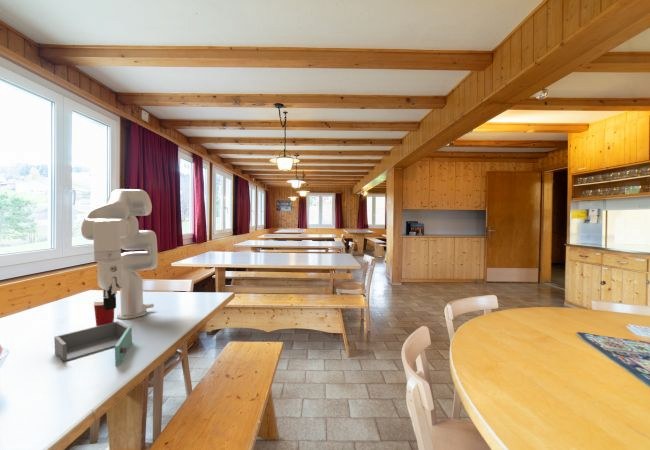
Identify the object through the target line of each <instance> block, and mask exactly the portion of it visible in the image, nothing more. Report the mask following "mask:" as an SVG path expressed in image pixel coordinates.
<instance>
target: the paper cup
mask: <svg viewBox="0 0 650 450" xmlns="http://www.w3.org/2000/svg"><path fill="white" fill-rule="evenodd" d="M103 298H104V297H103ZM103 298H98V299H96V300H94V302H93V304H92V305H93V310H94V316H95V317H94V318H95V324H96V325H95V327H96V326H100V325H104V324H108V323H113V322H115V309H110V310H105V309H104V302H103Z"/></svg>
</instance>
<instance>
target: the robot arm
mask: <svg viewBox="0 0 650 450" xmlns="http://www.w3.org/2000/svg"><path fill="white" fill-rule="evenodd" d="M107 198H108V199H107V202H106V204H104V205H101V206H99V207H96V208H94V209H91V210H90V211H88V212H87V213H86V215H85V217H84V219H83V221H82V224H81V230H80V231H81V232H80V233H81V235H82V237H83V238H84V239H86V240H87V241H93V255H94V256H93V259H94V260H93V261H94V262H96V263H97V265H96V266H97V267H96V269H97V270H96V273H97V275H96V276H97V277H96V280H97V286H98V287H99V288H100V289H102V297H103V302H104V309H105V310H110V309H114V310H115V309H116V308H117V293H118V290H117V288H118V289H119V294H120V295H119V296H120V298H119V299H120V313H119V312H118V314H117V317H116V318H118V319H119V320H128V319H129V320H130V319H135V318H139V317H142V316H145V315H146V314H147V313H148V309H150V308H154V307H155V305H154V303H150V304H149V303H146V304H145V303H144V293H143V291H144V288H143V287H144V285H143V284H144V283H143V278H142V276H141V275H140V273H138V272H139V271H149V270H155V269H157V267H158V264H159V255H158V253H159V252H158V239H157V234H156V232H155V231H154V230H151V229H149V230H147V229H145V230H144V229H141V230H140V229H139V220H138V218H137V217H136V216H138V217H140V216H141V217H143V216H145V217H147V216H149V215H151V213H152V209H153V206H152V201H151V198H150V196H149V194H148V193H147V191H145V190H144V189H133V188H132V189H131V188H129V189H127V188H126V189H125V188H119V189H115V190H113V191H112V192H110V194H109V196H108V197H107ZM122 250H125V251H124V252H122ZM137 250H138V251H137ZM140 250H141V251H140ZM142 250H143V251H142Z"/></svg>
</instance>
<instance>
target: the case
mask: <svg viewBox="0 0 650 450" xmlns="http://www.w3.org/2000/svg"><path fill="white" fill-rule="evenodd" d="M127 328H128V325H126V324H124V323H122V322H121V321H114V322H113V323H108V324H104V325H100V326H96V325H95V326H93V327H89V328H84V329H80V330H77V331H73V332H68V333H64V334H59V335H54V337H53V338H54V353H55V355H56V356H57V357H58V359H60V360H61V362H62V363H66V362H69V361H72V360H76V359H78V358H81V357H82V358H83V357H86V356H89V355H92V354H96V353H99V352H103V351H106V350H110V349H113V348H115V345H116V344H117V342H118V341H119V340H120V338H121V337H122V335H123V334H124V332H125V331H126V329H127Z"/></svg>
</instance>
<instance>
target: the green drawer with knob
mask: <svg viewBox="0 0 650 450" xmlns="http://www.w3.org/2000/svg"><path fill="white" fill-rule="evenodd" d="M127 327H128V328H127V329H126V331H125V332H124V334H123V335H122V337H121V338H120V340H119V341H118V342H117V344H116V345H115V347H114V360H115V361H114V362H115V363H114V365H115V367H118V366H120V365H121V364H122V362H123V360H124V358H125V356H126V354H127V352H128V350H129V349H130V347H131V345H132V344H133V326H132V325H127Z"/></svg>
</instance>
